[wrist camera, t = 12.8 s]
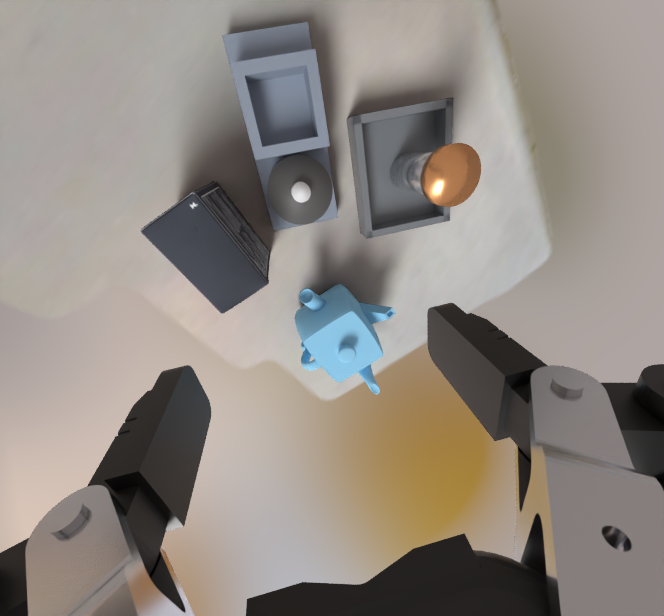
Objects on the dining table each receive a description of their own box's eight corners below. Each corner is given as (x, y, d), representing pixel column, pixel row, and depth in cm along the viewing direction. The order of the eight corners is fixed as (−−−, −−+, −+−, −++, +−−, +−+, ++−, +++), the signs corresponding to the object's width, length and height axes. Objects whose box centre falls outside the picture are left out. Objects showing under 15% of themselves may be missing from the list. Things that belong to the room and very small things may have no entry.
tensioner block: (225, 42, 28) (215, 19, 23) (305, 30, 29) (312, 4, 24) (273, 227, 37) (273, 237, 32) (335, 214, 37) (343, 223, 33)
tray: (346, 119, 33) (353, 115, 30) (438, 102, 34) (453, 97, 31) (360, 233, 39) (366, 238, 36) (437, 216, 40) (449, 220, 37)
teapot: (262, 296, 41) (259, 334, 32) (346, 239, 39) (367, 263, 30) (330, 374, 49) (342, 421, 40) (401, 330, 48) (430, 369, 39)
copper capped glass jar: (383, 151, 34) (425, 149, 25) (425, 143, 35) (483, 138, 25) (386, 197, 37) (426, 212, 27) (425, 189, 37) (478, 200, 27)
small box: (171, 211, 34) (133, 230, 25) (216, 178, 33) (193, 186, 24) (232, 280, 39) (219, 317, 30) (272, 253, 38) (271, 283, 29)
